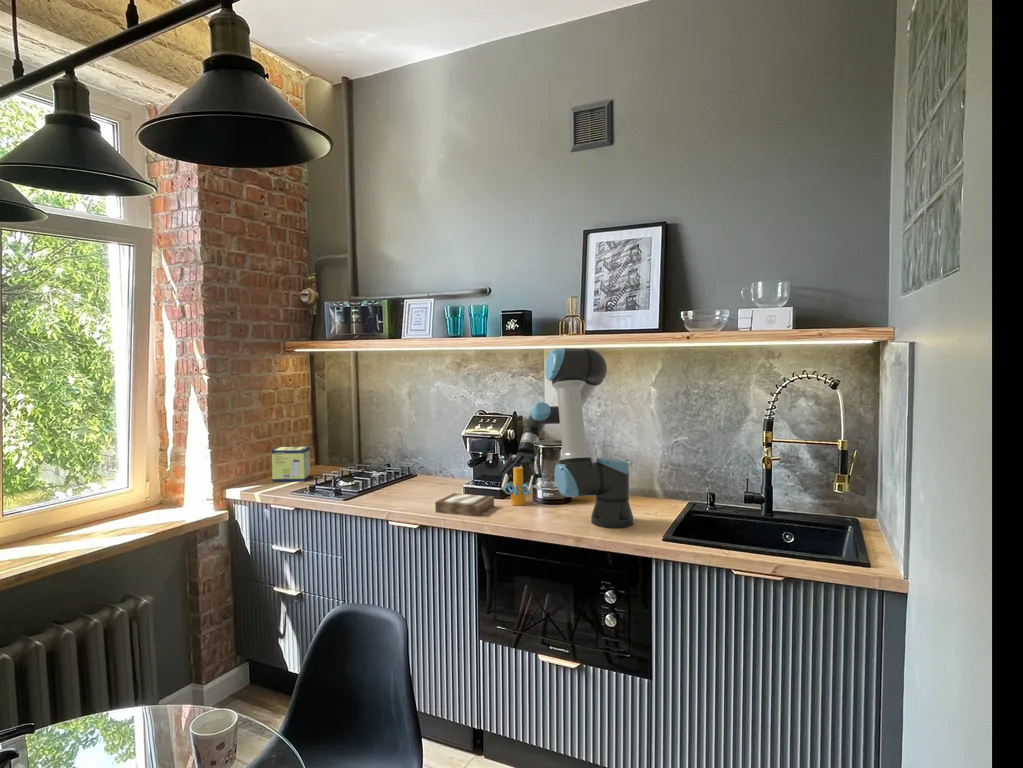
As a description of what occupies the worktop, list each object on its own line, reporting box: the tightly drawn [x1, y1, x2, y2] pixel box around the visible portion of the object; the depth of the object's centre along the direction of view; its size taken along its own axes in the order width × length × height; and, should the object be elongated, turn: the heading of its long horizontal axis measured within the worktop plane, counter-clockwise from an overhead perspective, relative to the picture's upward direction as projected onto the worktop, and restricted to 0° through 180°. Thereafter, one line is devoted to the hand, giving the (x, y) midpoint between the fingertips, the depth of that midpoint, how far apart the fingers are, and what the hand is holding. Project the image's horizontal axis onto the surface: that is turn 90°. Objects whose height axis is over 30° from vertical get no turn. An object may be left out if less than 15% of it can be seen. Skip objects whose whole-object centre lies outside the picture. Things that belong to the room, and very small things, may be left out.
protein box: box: [271, 446, 311, 483], centre depth 297 cm, size 10×16×16 cm
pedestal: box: [435, 492, 495, 517], centre depth 240 cm, size 18×16×4 cm
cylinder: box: [503, 466, 530, 506], centre depth 248 cm, size 12×10×15 cm
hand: (516, 490), depth 246 cm, fingers closed on cylinder, 11 cm apart
